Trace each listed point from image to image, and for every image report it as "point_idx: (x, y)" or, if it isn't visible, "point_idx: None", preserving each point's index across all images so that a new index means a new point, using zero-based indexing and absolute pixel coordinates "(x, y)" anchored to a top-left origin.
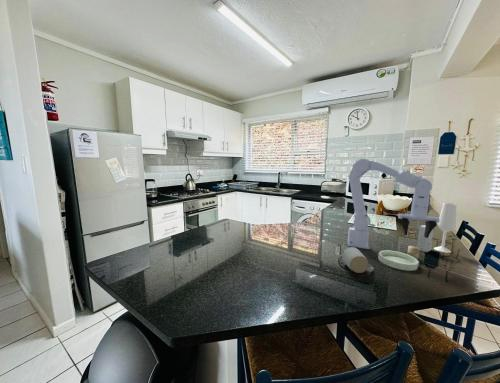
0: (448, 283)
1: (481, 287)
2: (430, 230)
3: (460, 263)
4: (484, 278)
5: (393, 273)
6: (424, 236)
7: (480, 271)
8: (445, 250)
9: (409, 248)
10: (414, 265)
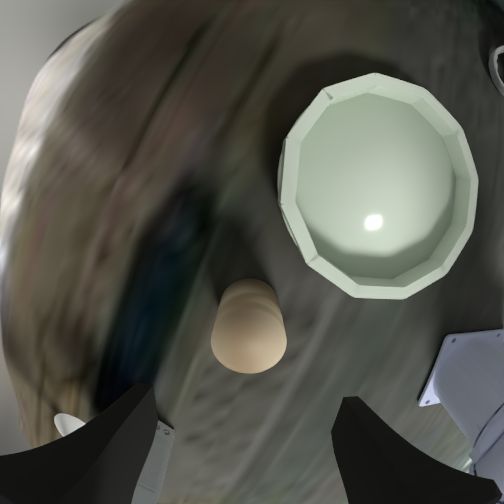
0: (203, 14)
1: (78, 50)
2: (86, 435)
3: (38, 310)
4: (17, 162)
5: (426, 51)
6: (157, 417)
7: (3, 241)
8: (67, 424)
9: (283, 329)
10: (332, 87)
